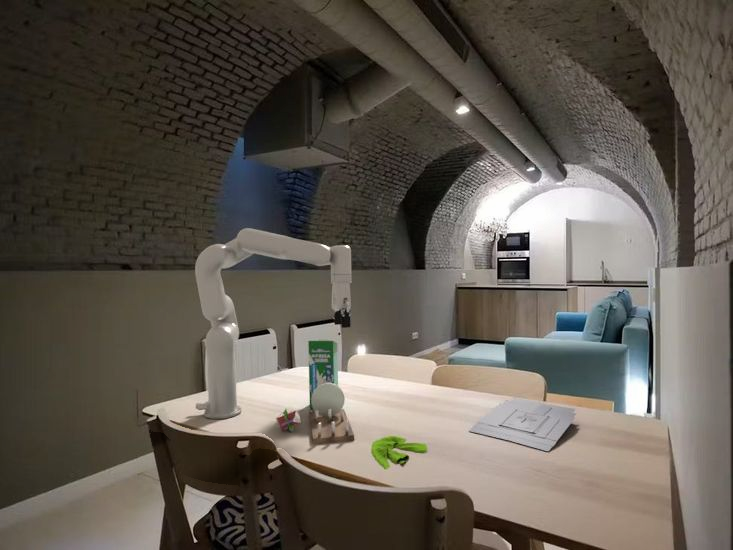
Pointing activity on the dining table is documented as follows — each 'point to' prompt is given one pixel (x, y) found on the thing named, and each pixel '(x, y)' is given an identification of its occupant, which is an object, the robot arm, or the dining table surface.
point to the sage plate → (327, 399)
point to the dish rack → (330, 429)
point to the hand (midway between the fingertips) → (342, 325)
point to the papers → (526, 423)
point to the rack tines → (332, 422)
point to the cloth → (384, 451)
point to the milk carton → (322, 364)
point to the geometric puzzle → (288, 420)
